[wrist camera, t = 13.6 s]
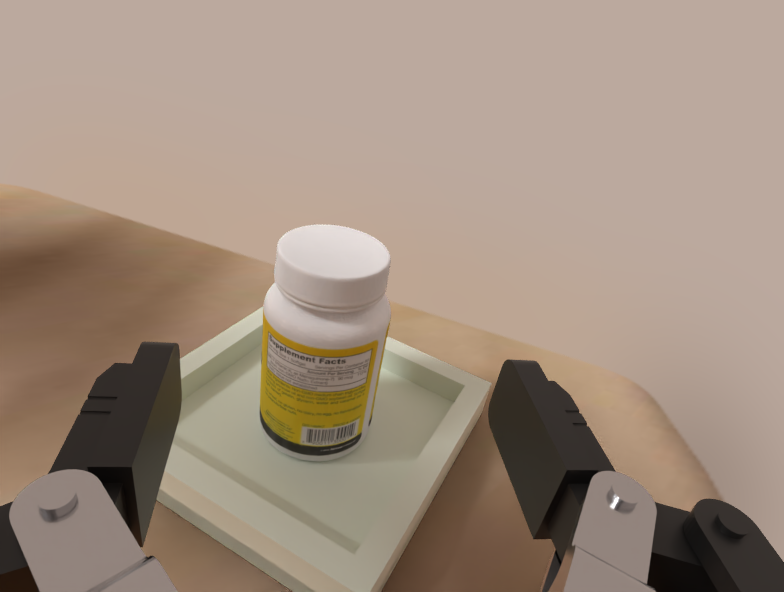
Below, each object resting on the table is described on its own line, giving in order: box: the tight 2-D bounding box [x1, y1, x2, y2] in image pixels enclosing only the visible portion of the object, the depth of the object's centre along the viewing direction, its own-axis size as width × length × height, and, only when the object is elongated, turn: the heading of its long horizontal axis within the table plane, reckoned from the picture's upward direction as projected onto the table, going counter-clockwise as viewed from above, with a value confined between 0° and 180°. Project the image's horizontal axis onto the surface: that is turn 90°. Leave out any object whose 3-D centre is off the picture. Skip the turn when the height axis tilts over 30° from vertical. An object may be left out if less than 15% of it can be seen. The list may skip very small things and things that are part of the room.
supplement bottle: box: [260, 225, 391, 461], centre depth 21 cm, size 5×5×8 cm
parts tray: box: [156, 306, 492, 592], centre depth 23 cm, size 12×12×2 cm
